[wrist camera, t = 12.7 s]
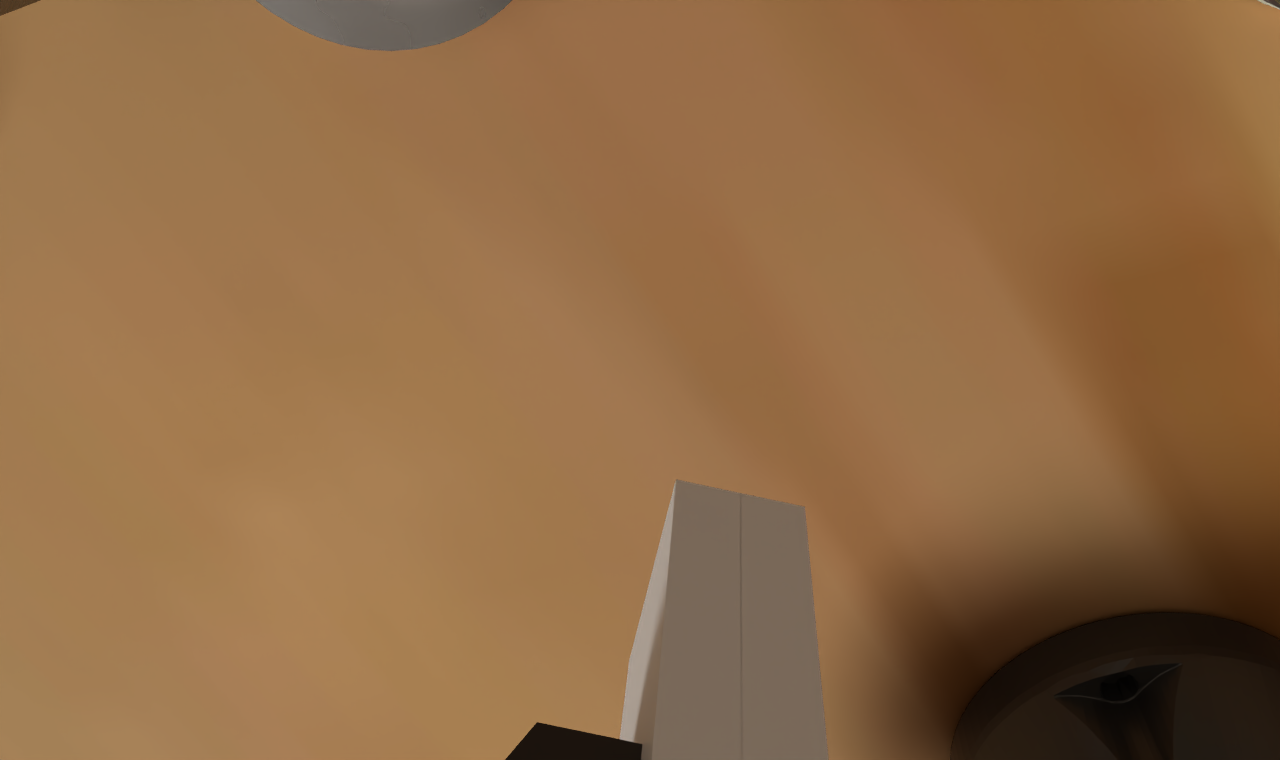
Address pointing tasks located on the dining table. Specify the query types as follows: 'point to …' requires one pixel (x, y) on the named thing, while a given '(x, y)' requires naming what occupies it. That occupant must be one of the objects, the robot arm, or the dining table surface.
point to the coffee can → (1271, 3)
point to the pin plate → (386, 20)
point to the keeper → (13, 5)
